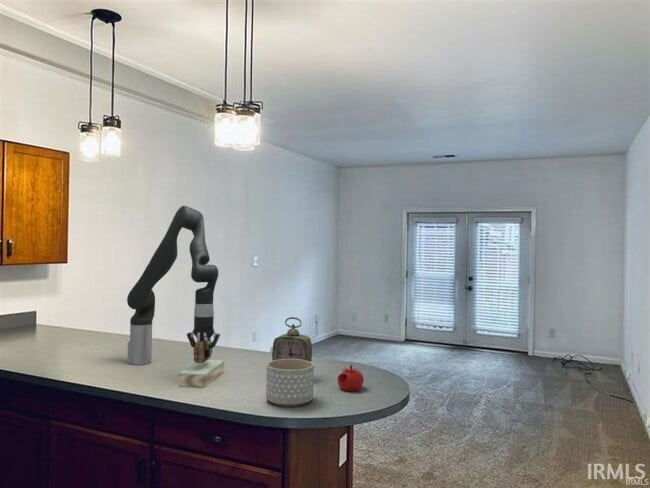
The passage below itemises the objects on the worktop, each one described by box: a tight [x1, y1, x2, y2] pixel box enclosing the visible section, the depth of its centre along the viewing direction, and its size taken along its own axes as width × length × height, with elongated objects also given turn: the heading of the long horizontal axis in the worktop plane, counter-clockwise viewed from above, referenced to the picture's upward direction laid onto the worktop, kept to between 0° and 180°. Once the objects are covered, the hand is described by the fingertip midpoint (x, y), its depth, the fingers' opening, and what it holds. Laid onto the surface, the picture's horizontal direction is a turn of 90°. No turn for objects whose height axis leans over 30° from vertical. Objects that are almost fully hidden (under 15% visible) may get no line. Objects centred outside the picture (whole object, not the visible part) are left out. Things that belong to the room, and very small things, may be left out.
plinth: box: [178, 359, 225, 388], centre depth 201 cm, size 10×22×5 cm, turn 173°
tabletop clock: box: [271, 316, 313, 362], centre depth 204 cm, size 14×9×25 cm, turn 75°
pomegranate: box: [337, 364, 364, 392], centre depth 192 cm, size 10×10×9 cm
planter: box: [265, 359, 315, 407], centre depth 177 cm, size 16×16×13 cm
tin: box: [193, 338, 213, 363], centre depth 201 cm, size 15×3×8 cm, turn 173°
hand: (203, 358), depth 201 cm, fingers closed on tin, 2 cm apart
